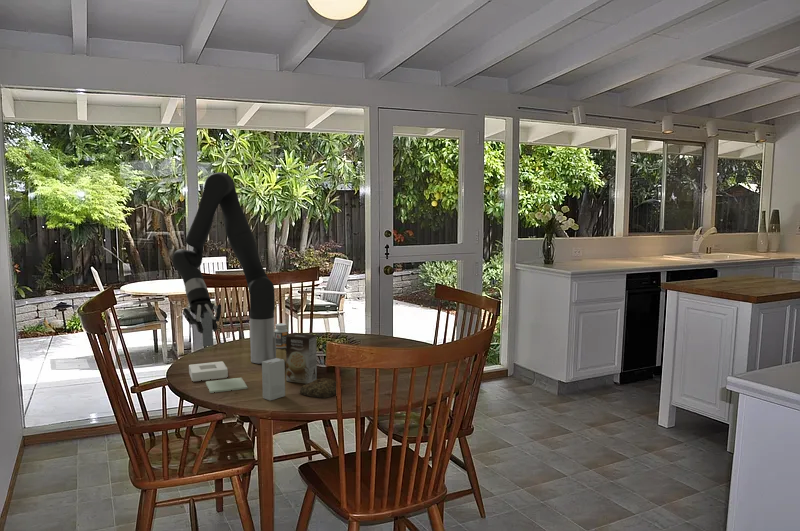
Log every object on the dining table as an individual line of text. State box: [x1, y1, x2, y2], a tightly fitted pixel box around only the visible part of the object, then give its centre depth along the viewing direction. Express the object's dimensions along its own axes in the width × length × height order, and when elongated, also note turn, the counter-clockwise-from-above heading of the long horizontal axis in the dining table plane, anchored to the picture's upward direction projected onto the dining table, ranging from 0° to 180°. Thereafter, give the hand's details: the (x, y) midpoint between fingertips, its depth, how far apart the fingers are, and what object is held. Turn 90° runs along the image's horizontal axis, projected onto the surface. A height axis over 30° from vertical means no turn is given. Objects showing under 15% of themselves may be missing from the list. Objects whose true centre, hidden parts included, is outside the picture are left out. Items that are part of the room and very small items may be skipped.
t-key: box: [200, 310, 214, 347], centre depth 217 cm, size 4×5×12 cm
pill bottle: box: [274, 322, 289, 349], centre depth 261 cm, size 6×6×10 cm
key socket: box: [188, 360, 229, 382], centre depth 219 cm, size 12×12×3 cm
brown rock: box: [299, 377, 337, 399], centre depth 199 cm, size 13×12×5 cm
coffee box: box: [285, 332, 318, 385], centre depth 212 cm, size 9×6×16 cm
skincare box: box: [261, 357, 286, 401], centre depth 193 cm, size 6×4×12 cm
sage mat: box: [205, 377, 248, 394], centre depth 206 cm, size 12×12×1 cm
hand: (208, 330), depth 216 cm, fingers closed on t-key, 4 cm apart
